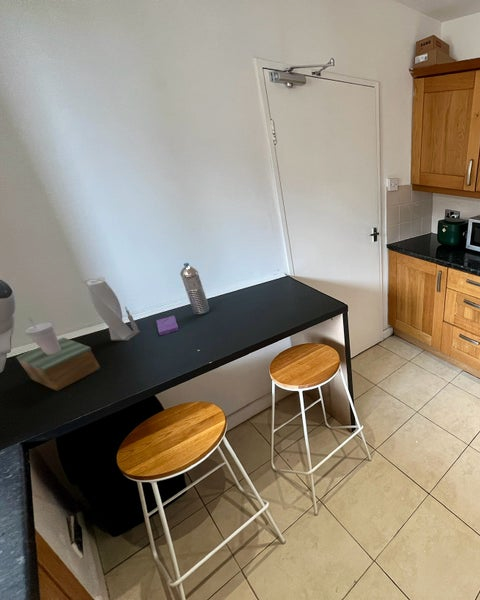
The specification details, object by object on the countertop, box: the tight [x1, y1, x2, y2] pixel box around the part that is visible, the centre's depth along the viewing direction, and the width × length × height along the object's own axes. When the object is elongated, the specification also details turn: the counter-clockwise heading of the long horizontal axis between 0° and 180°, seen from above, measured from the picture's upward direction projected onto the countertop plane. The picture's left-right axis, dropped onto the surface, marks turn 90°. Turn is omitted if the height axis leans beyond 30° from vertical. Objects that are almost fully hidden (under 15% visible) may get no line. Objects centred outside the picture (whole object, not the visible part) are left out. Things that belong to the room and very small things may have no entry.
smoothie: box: [24, 316, 61, 355], centre depth 104 cm, size 6×6×14 cm
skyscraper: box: [82, 276, 141, 342], centre depth 126 cm, size 8×8×28 cm
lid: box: [16, 337, 92, 371], centre depth 107 cm, size 16×13×1 cm
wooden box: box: [17, 348, 102, 392], centre depth 109 cm, size 16×13×9 cm
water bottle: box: [179, 262, 211, 316], centre depth 145 cm, size 7×7×25 cm
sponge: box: [156, 315, 180, 336], centre depth 139 cm, size 7×13×2 cm, turn 39°
